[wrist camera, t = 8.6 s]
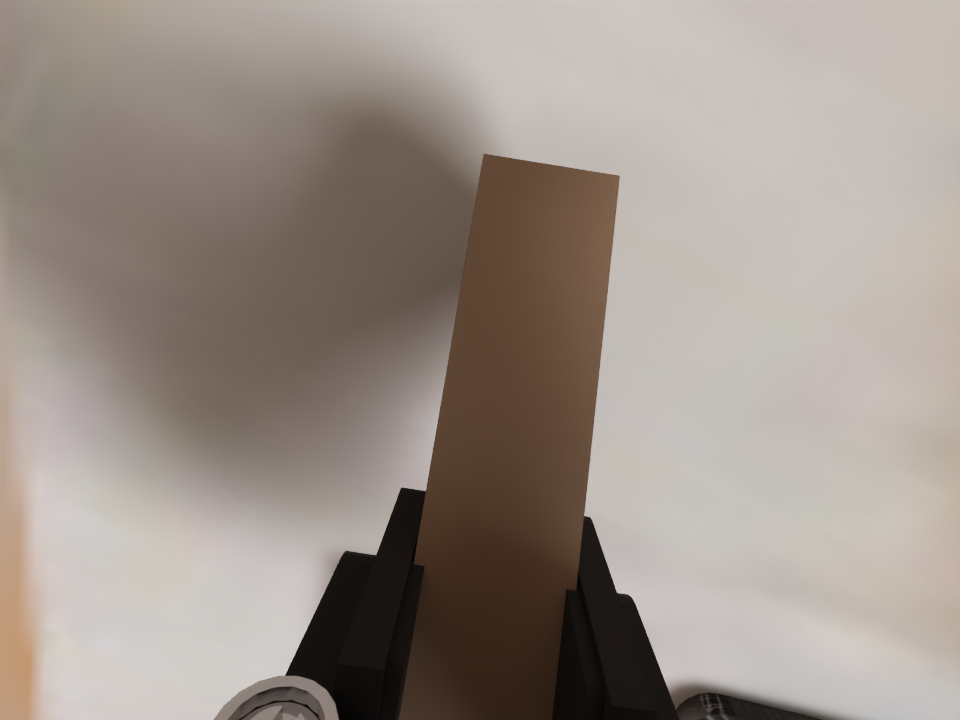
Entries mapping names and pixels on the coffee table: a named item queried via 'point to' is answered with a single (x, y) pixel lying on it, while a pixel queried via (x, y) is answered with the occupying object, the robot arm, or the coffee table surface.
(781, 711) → the phone
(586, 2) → the coffee table surface
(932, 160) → the coffee table surface
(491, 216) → the post on base stand
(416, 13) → the coffee table surface
